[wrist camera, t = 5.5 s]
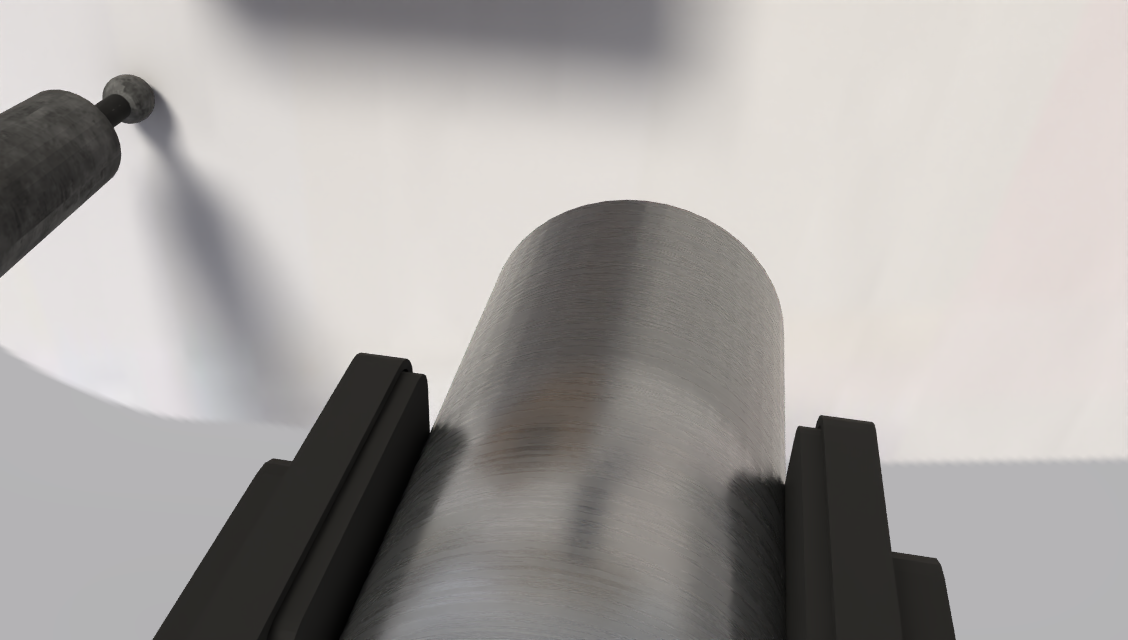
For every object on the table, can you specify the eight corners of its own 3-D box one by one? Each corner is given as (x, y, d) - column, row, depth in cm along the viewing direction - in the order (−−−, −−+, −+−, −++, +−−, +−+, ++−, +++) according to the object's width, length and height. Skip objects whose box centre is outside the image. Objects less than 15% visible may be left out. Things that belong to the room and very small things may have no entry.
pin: (807, 219, 13) (868, 1288, 4) (760, 463, 15) (739, 1477, 7) (492, 183, 13) (13, 1086, 5) (491, 424, 15) (162, 1326, 7)
